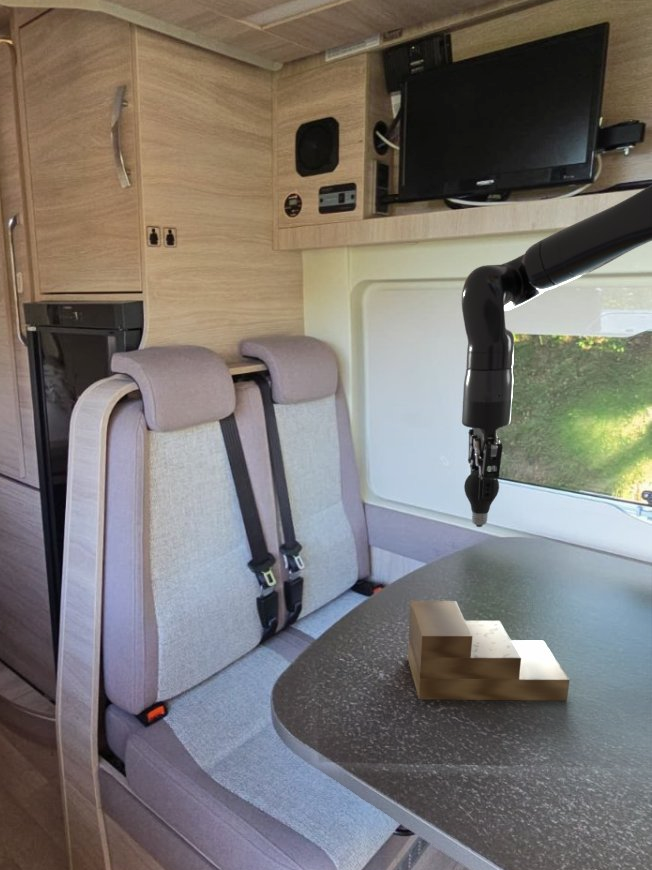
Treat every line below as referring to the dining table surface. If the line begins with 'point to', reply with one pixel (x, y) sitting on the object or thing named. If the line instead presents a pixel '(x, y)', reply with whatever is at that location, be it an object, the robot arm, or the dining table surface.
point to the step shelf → (527, 688)
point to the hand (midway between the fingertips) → (481, 495)
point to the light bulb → (478, 507)
